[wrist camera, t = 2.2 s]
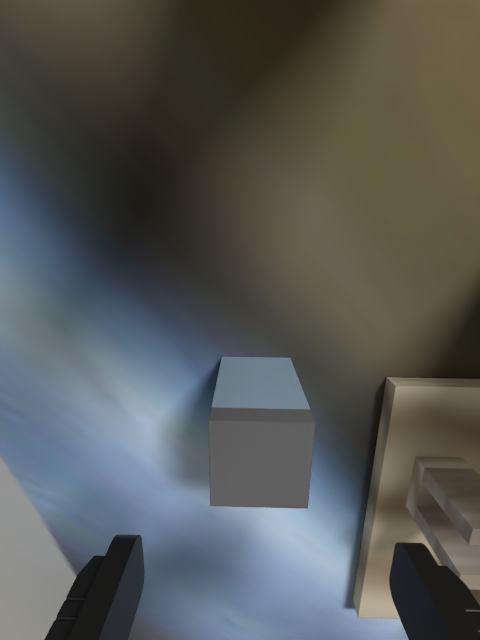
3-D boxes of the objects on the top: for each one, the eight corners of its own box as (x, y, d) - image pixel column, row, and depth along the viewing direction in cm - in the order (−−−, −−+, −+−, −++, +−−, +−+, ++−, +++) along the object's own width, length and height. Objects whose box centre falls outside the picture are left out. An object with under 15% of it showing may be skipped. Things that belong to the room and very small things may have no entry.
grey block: (221, 356, 19) (208, 420, 12) (290, 357, 19) (315, 422, 12) (222, 416, 20) (210, 506, 13) (286, 418, 20) (307, 508, 13)
